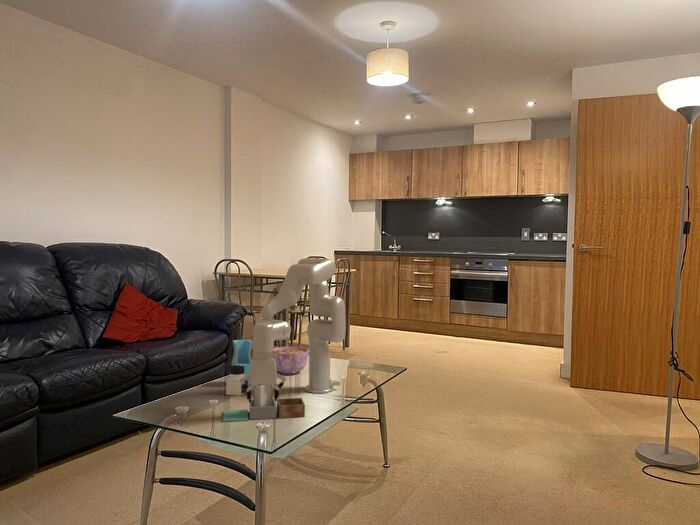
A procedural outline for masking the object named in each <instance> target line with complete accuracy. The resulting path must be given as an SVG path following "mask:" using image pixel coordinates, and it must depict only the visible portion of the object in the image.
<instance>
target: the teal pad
mask: <svg viewBox="0 0 700 525" xmlns="http://www.w3.org/2000/svg"><path fill="white" fill-rule="evenodd" d="M248 413H249V412H248V409H227V410H226V409H225V410H223V413H222V422H223V423H233V422H248V421H249V414H248Z"/></svg>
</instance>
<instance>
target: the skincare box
mask: <svg viewBox="0 0 700 525" xmlns="http://www.w3.org/2000/svg"><path fill="white" fill-rule="evenodd" d="M272 399H273V386H266V385H257V386H253V399H252V400H253V407H260V406H272Z"/></svg>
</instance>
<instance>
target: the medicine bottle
mask: <svg viewBox="0 0 700 525" xmlns="http://www.w3.org/2000/svg"><path fill="white" fill-rule="evenodd" d="M245 376H246V375H244V366H242V365H233V366H232V365H231V366H230V368H229V376H228V377H227V378H226V380H225V382H226V383H225V384H226V385H225V388H226V389H225V394H226V395H227V396H237V397H238V396H239V397H241V396H243V395H245V394H247V391H246V390H245V389H244V388H243V387H242V385H241V383H240V379H241V378H243V377H245ZM244 383H245V384H246V385H247V386H248V379H247V380H245V381H244Z"/></svg>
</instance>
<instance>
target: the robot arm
mask: <svg viewBox="0 0 700 525" xmlns="http://www.w3.org/2000/svg"><path fill="white" fill-rule="evenodd" d="M336 269H337V268H336V263H335V261H334V260H332V259H331V258H318V257H316V258H315V257H306V258H301V259H299V260H298V262H297V263H295V264H291V266H289V268H288V269H287V272H286V273H285V274H286V275H285V277H284V278H283V279H284V280H283V282H282V285H281V286H280V289H279V292H278V294H277V295H276V296H274V297H273V298H271V299H270V300H269V301H268V302H267V303H266V304H265V305H264V306H263V307H262V308H261V310H260V312H259V315H258V317H257V319H256V322H255V323H254V325H253V341H252V346H253V348H252V350H253V355H252V356H253V358H251V363H250V373H249V374H248V375H247V376H245V377H243V378H241V379H240V383H241V385H242V387H243V388H244V389H245V390H246V391H247V392H246V399H247V400H248V403H250V402H251V400H252V389H253V388H254V386H257V385H266V386H272V387H274V393H273V395H274V398H273V399H275V402H277V399H280V398H279V397H280V395H279V394H280V393H279V391H280V389H282V388H283V386H284V385H285V382H286V381H287V378H286V376H284V375H281V374H279V373H278V372H277V369H276V360H275V358H274V356H277V352H274V351H273V350H274V348H275V345H274V342H275V341H283V340H286V339H288V338H289V336H290V335H291V332H292V326H291V325H290V323H289V322H287V321H285V320H279V319H273V318H274V316H275V315H277V314H278V313H279V312H280V311H282V310H285V309H287V308H290V307H293V306H296V304H298V302H299V300H300V297H301V294H302V293H303V289H304V287H305V286H306V285H307V286H308V289H309V290H308V292H309V310H310V313H311V315H313V317H320V318H316V319H311V320H310V321H309V322H308V324H307V327H306V329H307V330H306V333H307V338H308V349H309V354H308V384H307V385H306V386H305V387H304V389H305V391H306V392H308V393H313V394H326V393H330V392H333V391H334V386H341V381H340V380H332V379H331V348H330V346H329V343H328V342H330V343H341V342H343V341H344V339H345V338H346V333H347V331H346V330H347V326H346V325H347V324H346V323H347V321H346V320H347V319H346V305H345V301H344V299H343V298H342V297H341V296H336V295H330V294H329V282H328V280H330V279H332V278H333V276H335V273H336ZM322 318H323V319H322ZM324 318H330V319H324ZM247 379H249V382H250V384H249V385H248V386H247V385H246V384H245V383H244V381H245V380H247ZM278 379H280V380H281V381H280V382H279V383H277V381H278Z"/></svg>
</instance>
